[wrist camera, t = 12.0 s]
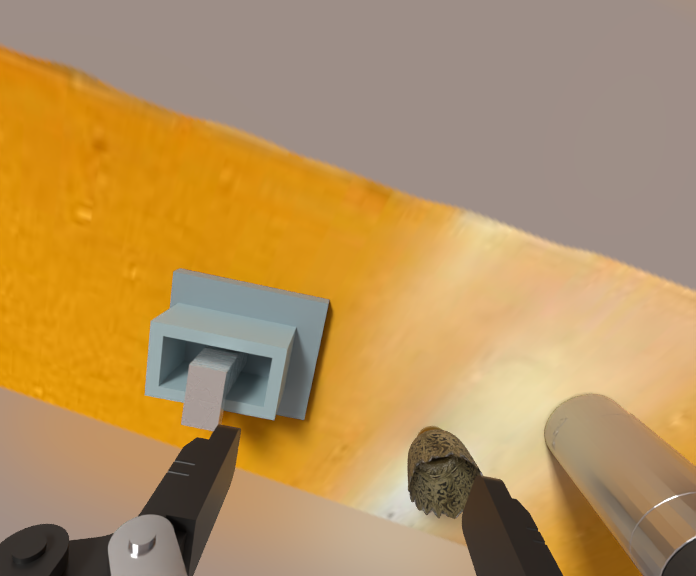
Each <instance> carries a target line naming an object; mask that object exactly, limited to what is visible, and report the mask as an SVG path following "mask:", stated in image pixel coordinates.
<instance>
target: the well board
mask: <svg viewBox="0 0 696 576" xmlns="http://www.w3.org/2000/svg"><path fill="white" fill-rule="evenodd" d="M328 304H329V299H324V298H319V297H314V296H310V295H305V294H300V293H295V292H290V291H286V290H281V289H276V288H271V287H267V286H262V285H257V284H252V283H247V282H243V281H238V280H233V279H228V278H224V277H219V276H214V275H209V274H204V273H200V272H195V271H190V270H185V269H181V268H180V269H178V270H176V271H174V272H173V282H172V292H171V303H170V309H168V310H167V311H165V312H164V313H162V314H161V315H159V316H158V317H156V318H155V319H153V320H152V321H151V326H150V338H149V350H148V362H147V374H146V386H145V395H147V396H152V397H157V398H162V399H167V400H173V401H178V402H183V403H184V400H185V392H186V385H187V377H188V370H189V364H190V363H191V362H192V361H193V360H194V359H195V358H196V357H197V356H198V354H199V353H200V352H201V351H202V350H203V349H204V348H205V347H206V346H207V345H210V346H215V347H220V348H225V349H230V350H235V351H240V352H245V353H248V357H247V362H246V365H245V366H244V368H243V370H242V371H241V373H240V375H239V376H238V378H237V380H236V381H235V383H234V385H233V386H232V388H231V390H230V391H229V393H228V395H227V396H226V399H225V405H224V411H229V412H234V413H239V414H244V415H250V416H255V417H260V418H265V419H270V420H274V419H275V416H276V415H280V416H285V417H291V418H296V419H301V420H304V418H305V414H306V409H307V404H308V399H309V395H310V390H311V385H312V380H313V376H314V371H315V366H316V361H317V357H318V352H319V347H320V342H321V338H322V333H323V328H324V323H325V319H326V314H327V309H328Z"/></svg>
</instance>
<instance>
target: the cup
mask: <svg viewBox="0 0 696 576" xmlns="http://www.w3.org/2000/svg"><path fill="white" fill-rule="evenodd" d="M478 475H480V476H483V474H482V472H481V471H480V470H479V468H478V466H477V464H476V463H475V461H474V460H473V458H472V456H471V455H470V453H469V452H468V450H467V449H466V447H465V446H464V445H463V443H462V442H461V441H460V440H459V439H458V438H457V437H456V436H454V435H453V434H451V433H449V432H447V431H444V430H442V429H440V428H438V427H436V426H428V427H425V428H423V429H422V430H421V431H420V432H419V434H418V436H417V438H416V439H415V440H414V441H413V443H412V444H411V447H410V449H409V453H408V491H409V492H410V499H411V502H414V501H415V504H416V507H417V508H418V510H423V511H424V512H425V514H426V515H428V514H429V513H430V512H431V510H433V512H434V514H435V515H436V516H437V517H438V518H440V516H441V513H443V514H446V516H448V517H451V518H454V519H455V518H457V517H458V516H459V514H461V512H463V510H464V507H465V504H466V502H467V499H468V496H469V493H470V491H471V488H472V485H473V482H474V480H475V478H476V477H477V476H478Z"/></svg>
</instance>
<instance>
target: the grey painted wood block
mask: <svg viewBox="0 0 696 576" xmlns="http://www.w3.org/2000/svg"><path fill="white" fill-rule="evenodd" d="M247 357H248V353H245V352H240V351H235V350H230V349H225V348H220V347H215V346H210V345H207V346H206V347H205V348H204V349H203V350H202V351H201V352H200V353H199V354H198V356H197V357H196V358H195V359H194V360H193V361H192V362H191V363H190V364H189V370H188V377H187V385H186V392H185V400H184V408H183V415H182V423H181V425H186V426H191V427H196V428H200V429H205V430H210V431H214V430H215V428H216V427H217V425H218V424H220V425H221V423H222V417H223V411H224V405H225V399H226V396H227V395H228V393H229V391H230V390H231V388H232V386H233V385H234V383H235V381H236V380H237V378H238V376H239V375H240V373H241V371H242V370H243V368H244V366H245V365H246V362H247Z"/></svg>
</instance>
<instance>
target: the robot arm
mask: <svg viewBox="0 0 696 576" xmlns="http://www.w3.org/2000/svg"><path fill="white" fill-rule="evenodd" d="M240 434H241V429H240V428H236V427H230V426H225V425H220V424H218V425H217V427H216V428H215V430H214V432H213V433H212V435H211V437H210V439H209V440H208V439H203V438H198V437H197V438H195V439H194V440H193V441H191V442H190V443H188V444H187V445H186V446H184V447H183V449H182V450H181V452H180V453H179V455H178V456H177V458H176V460H175V462H173V464H172V465H171V467H170V469H169V471H168V473H166V475H165V476H164V478H163V479H162V481H161V483H160V484H159V485H158V487H157V488H156V490H155V492H154V493H153V495H152V496H151V498H150V499H149V501H148V502H147V504H146V505H145V507H144V508H143V510H142V512H141V513H140V514H139V516H138V517H135V518H133V519H131V520H129V521H127V522H126V523H124V524H123V525H121V526H120V527H119V528H118V529H117V530H116V531H115V532H114V533H113V534H110V535H106V536H102V537H96V538H88V539H79V540H71V541H69V536H68V533H67V532H66V530H65V529H63V528H62V527H60V526H58V525H54V524H40V525H35V526H31V527H28V528H25V529H23V530H20V531H19V532H16V533H15V534H13V535H11V536H10V537H8V538H7V539H5V540H4V541H3V542H1V544H0V576H193V574H194V572H195V570H196V567H197V565H198V562H199V560H200V558H201V555H202V553H203V550H204V548H205V545H206V543H207V541H208V538H209V536H210V533H211V531H212V528H213V526H214V523H215V521H216V519H217V516H218V514H219V511H220V509H221V507H222V504H223V502H224V499H225V497H226V494H227V492H228V490H229V487H230V484H231V481H232V478H233V474H234V470H235V465H236V459H237V452H238V446H239V440H240ZM545 440H546V444H547V446H548V447H549V449H550V451H551V452H552V453H553V455H554V456H555V457H556V459H557V460H558V462H559V463H560V464H561V466H562V467H563V468H564V470H565V471H566V472H567V474H568V475H569V477H570V478H571V479H572V481H573V482H574V483H575V485H576V486H577V487H578V489H579V490H580V491H581V493H582V494H583V495H584V497H585V498H586V499H587V501H588V502H589V503H590V505H591V506H592V507H593V509H594V510H595V512H596V513H597V514H598V516H599V517H600V518H601V520H602V521H603V522H604V524H605V525H606V526H607V528H608V529H609V530H610V532H611V533H612V534H613V536H614V537H615V538H616V540H617V541H618V542H619V544H620V545H621V546H622V548H623V549H624V551H625V552H626V553H627V555H628V556H629V557H630V559H631V560H632V561H633V563H634V564H635V565H636V567H637V568H638V569H639V570H640V572H641V573H642V574H643V576H696V466H694V465H693V464H692V463H691V462H690V461H688V460H687V459H686V458H685V457H684V456H682V455H681V454H680V453H679V452H677V451H676V450H675V449H674V448H673V447H671V446H670V445H669V444H668V443H666V442H665V441H664V440H663V439H662V438H660V437H659V436H658V435H657V434H655V433H654V432H653V431H652V430H651V429H649V428H648V427H647V426H646V425H645V424H643V423H642V422H641V421H640V420H638V419H637V418H636V417H635V416H634V415H632V414H629V413H628V412H627V411H626V410H624V409H623V408H622V407H621V406H620V405H618V404H617V403H616V402H615V401H613V400H612V399H610V398H608V397H605V396H601V395H597V394H587V395H581V396H577V397H574V398H571V399H569V400H567V401H566V402H564V403H562V404H561V405H560V406H559V407H558V408H556V409H555V411H554V412H553V413H552V414H551V416H550V417H549V419H548V421H547V424H546V428H545ZM462 529H463V534H464V537H465V540H466V543H467V546H468V550H469V553H470V556H471V559H472V562H473V565H474V568H475V571H476V575H477V576H563V574H562V573H561V571H560V569H559V567H558V565H557V563H556V561H555V560H554V558H553V556H552V554H551V552H550V550H549V548H548V547H547V545H545V541H544V539H543V537H542V535H541V533H540V532H538V528H537V526H536V524H535V522H534V520H533V519H532V517H531V515H530V513H529V512H528V511H527V510H526V509H525V508H524V507H523V506H522V505H521V503H520V502H519V501H518V500H517V499H512V498H511V496H510V494H509V492H508V490H507V488H506V486H505V484H504V482H503V481H502V480H500V479H496V478H491V477H485V476H480V475H478V476H477V477H476V478H475V480H474V482H473V485H472V488H471V491H470V493H469V496H468V499H467V502H466V504H465V507H464V510H463V514H462Z"/></svg>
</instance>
